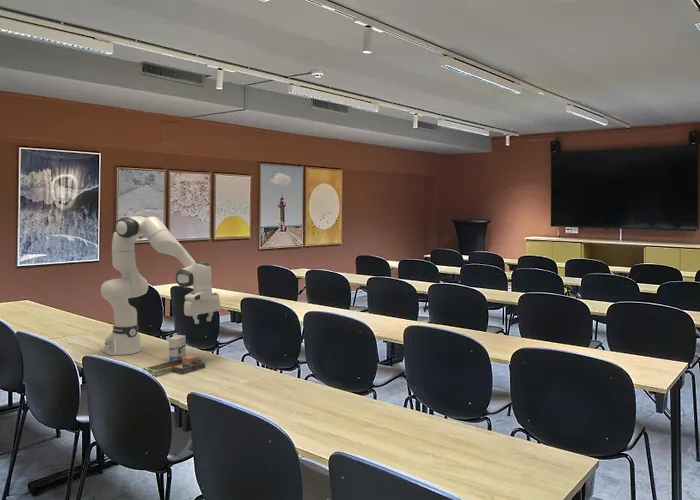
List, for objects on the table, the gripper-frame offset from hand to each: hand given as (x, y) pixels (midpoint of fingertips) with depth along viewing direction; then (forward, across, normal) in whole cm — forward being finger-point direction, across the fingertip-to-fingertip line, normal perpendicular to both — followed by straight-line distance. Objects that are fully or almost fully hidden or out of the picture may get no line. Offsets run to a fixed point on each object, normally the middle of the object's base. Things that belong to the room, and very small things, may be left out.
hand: (202, 322), depth 287 cm
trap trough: (+19, +18, +3) cm, 26 cm away
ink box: (+20, +7, -11) cm, 23 cm away
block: (+20, +8, 0) cm, 21 cm away
